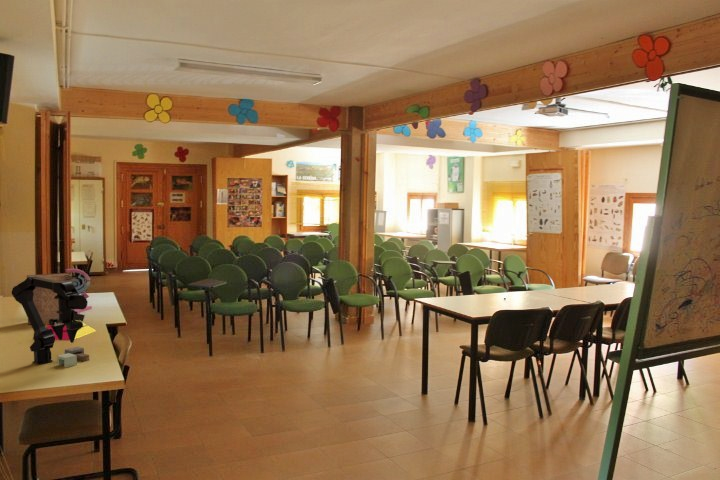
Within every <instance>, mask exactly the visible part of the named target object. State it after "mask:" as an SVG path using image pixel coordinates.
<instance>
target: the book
mask: <svg viewBox="0 0 720 480" xmlns="http://www.w3.org/2000/svg"><path fill="white" fill-rule="evenodd" d="M34 276H37V277H39V278H44V279H49V280H53V281H71V282H72V280H73V274H72V272H69V273H67V272H63V273H62V272H61V273H45V274H44V273H43V274H28V275H26V279H27V278H28V277H34ZM72 283H73V282H72ZM33 293H34V296H33V302H34V304H35V306H36V308H37V310H38V313H39V315H40V317H41V319H42V321H43V323H46V324H49V320H50V319H52V318H57V317H59V313H57V311H59V310H58V299H54V297H55V296H56V295H57V294H56V293H54V292H53V291H52V290H50V289H46V288H41V287H36V289H35V290H33ZM71 293H72V292H71ZM67 294H68V293H67ZM72 310H73V309H72ZM27 323H28V326H31V324H30V321H29V319H28V318H27Z"/></svg>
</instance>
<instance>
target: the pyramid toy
mask: <svg viewBox="0 0 720 480" xmlns="http://www.w3.org/2000/svg"><path fill="white" fill-rule="evenodd" d="M57 318H58V317H57ZM76 321H77V320H76ZM81 322H82V323H83V327H81V329H79V330H78V331H77V333H76V336H75V339H74V340H76V338H77V339H79V338H81V337H84V336H86V335H89V334H91V333H95V332H97V330H96V329H94V328H93V327H91V326H89V325H87V324H86V323H84V321H81ZM51 326H52V325H49V324H48V325H47V326H45V327H46V328H47V329H52V327H51ZM66 329H67V327H66V325H65V326H64V328H63V337H62V340H61V341H70V339H69V336H68V333H67V331H66ZM52 331H53V333H54V335H55V336H54V337H55V339H56V340H55V341H60V340H59V338H58V337H57V335H56V333H55V332H54V330H53V329H52Z"/></svg>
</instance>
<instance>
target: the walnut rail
mask: <svg viewBox="0 0 720 480" xmlns="http://www.w3.org/2000/svg"><path fill="white" fill-rule="evenodd" d="M73 354H74V355H77V361H80V362H82V363H83V362H87V361H90V354H86V353H84V354H83V353H79V352H76V353H73Z"/></svg>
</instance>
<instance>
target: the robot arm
mask: <svg viewBox="0 0 720 480" xmlns="http://www.w3.org/2000/svg"><path fill="white" fill-rule="evenodd" d="M36 287H41V288H46V289H50V290H52V291H53V292H54V293H56V294H57V295H56V296H55V297H54V299H58V310H59V311H57V313H59V317H58V318H52V319H50V320H49V323H48V325H52V326H51V327H52V329H53V330H54V332H55V333H56V335H57V337H58V338H59V340H58V341H63V340H62V337H63V328H64V326H65V325H66V327H67V329H66V331H67V333H68V336H69V339H70V340H69V342H70V343H71V344H72V343H74V342H75V340H76V339H75V336H76V333H77V331H78V330H79V329H81V327H83V323H84V319H85V316H86V315H85V314H82V313H77V312H76V311H74V310H72V309H82V310H83V309H85V308H86V307H87V306H88V299H87V298H85V297H84V295H81V294H80V293H78V291H77V290H76V288H75V287H76V286H74V285H73V282H71V281H53V280H49V279H44V278H39V277H37V276H34V277H28V278H27V277H26V278H25V280H24V281H21V282H19V283H18V284H17V285H15V286H13V287H12V289H11V294H12V297H13V298H14V300H15V301H16V302H17V303H19V304H20V305H21V306H22V308H23V310H24V312H25V314H26V317H27V320H28V319H29V321H30V324H31V325H30V327H31V328H32V330H33V335H32V340H33V343H32V344H31V345H30V346H29V349H30V352H33V361H32V362H31V363H33V364H35V365H44V364H48V363H52V362H53V360H52V351H51V349H53V348H54V345H55V341H56V340H55V337H54V336H55V335H54V333H53V331H52V329H47V328H46V327H47V326H46V325H45V324H44V323H43V321H42V319H41V317H40V315H39V313H38V310H37V308H36V306H35V304H34V302H33V296H34V293H33V290H35V289H36ZM71 292H72V293H71ZM67 293H68V294H67ZM79 294H80V295H79ZM76 320H77V321H76ZM82 322H83V323H82Z"/></svg>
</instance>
